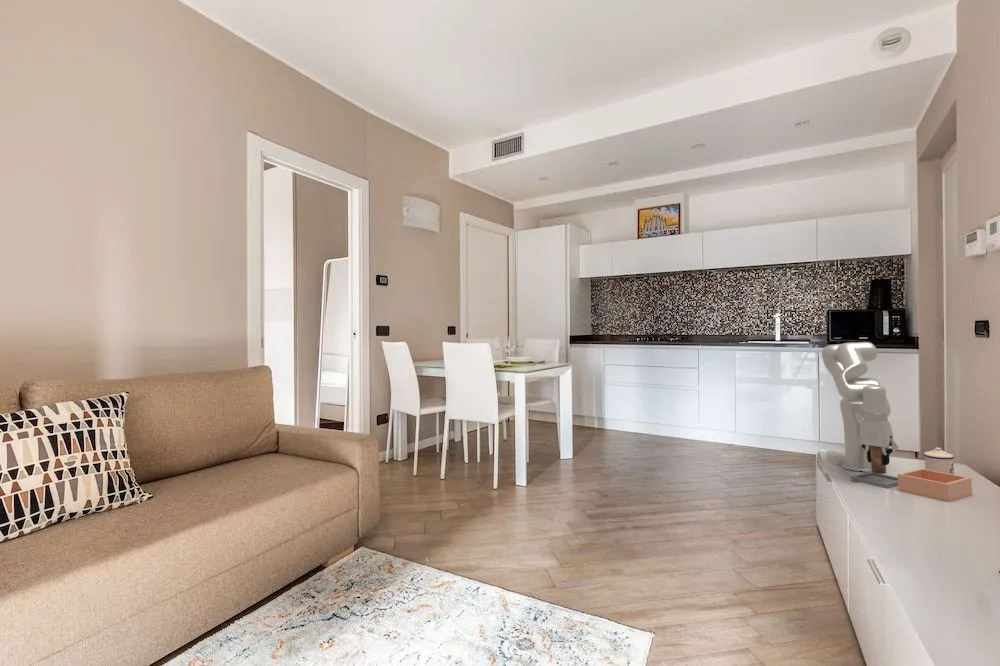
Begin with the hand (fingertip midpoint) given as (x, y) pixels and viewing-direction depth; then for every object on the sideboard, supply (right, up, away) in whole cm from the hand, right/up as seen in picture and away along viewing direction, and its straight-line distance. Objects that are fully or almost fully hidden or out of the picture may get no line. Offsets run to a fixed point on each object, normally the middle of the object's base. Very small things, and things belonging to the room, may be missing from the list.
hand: (878, 462), depth 190 cm
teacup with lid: (+29, -7, +6) cm, 31 cm away
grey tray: (0, -8, 0) cm, 8 cm away
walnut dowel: (0, -4, 0) cm, 4 cm away
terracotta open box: (+9, -7, -15) cm, 19 cm away
